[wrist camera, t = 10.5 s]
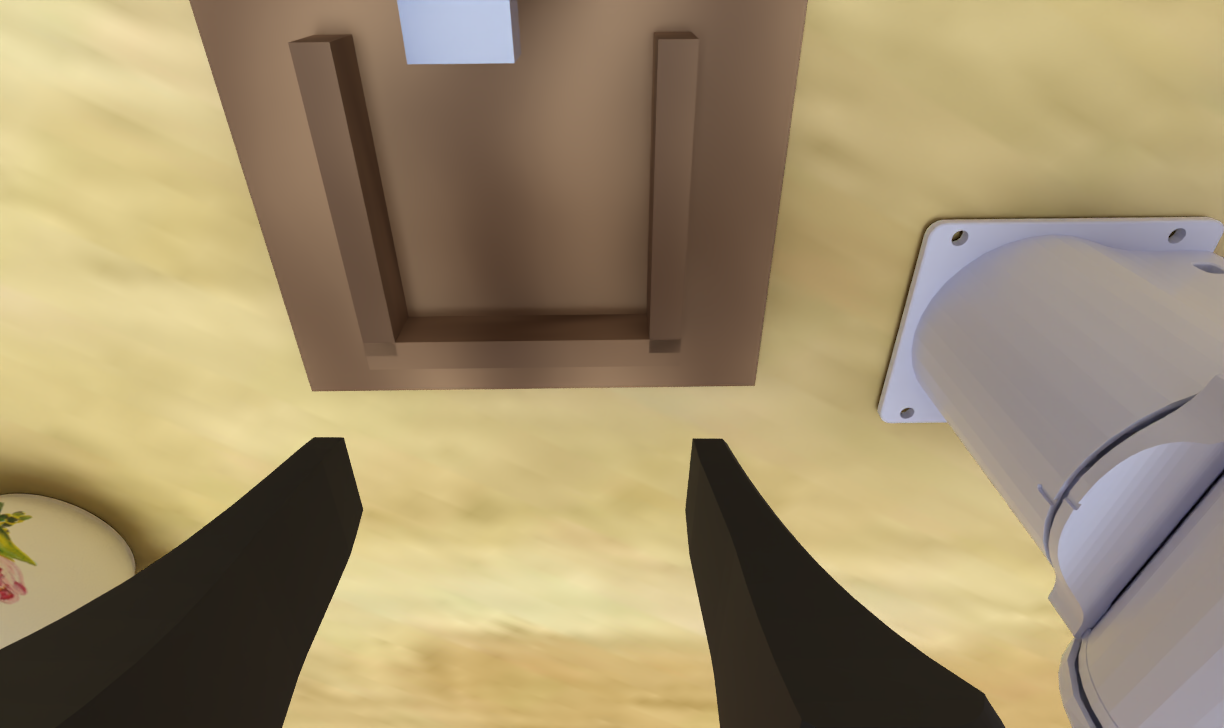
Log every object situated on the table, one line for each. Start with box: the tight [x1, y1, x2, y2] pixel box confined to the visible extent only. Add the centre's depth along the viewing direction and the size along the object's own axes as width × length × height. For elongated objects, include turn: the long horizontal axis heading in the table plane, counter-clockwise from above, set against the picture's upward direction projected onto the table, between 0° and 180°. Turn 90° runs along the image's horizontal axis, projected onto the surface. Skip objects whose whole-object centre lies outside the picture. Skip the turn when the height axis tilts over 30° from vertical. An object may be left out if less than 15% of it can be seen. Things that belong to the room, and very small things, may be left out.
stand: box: [189, 0, 808, 391], centre depth 17 cm, size 16×22×2 cm
